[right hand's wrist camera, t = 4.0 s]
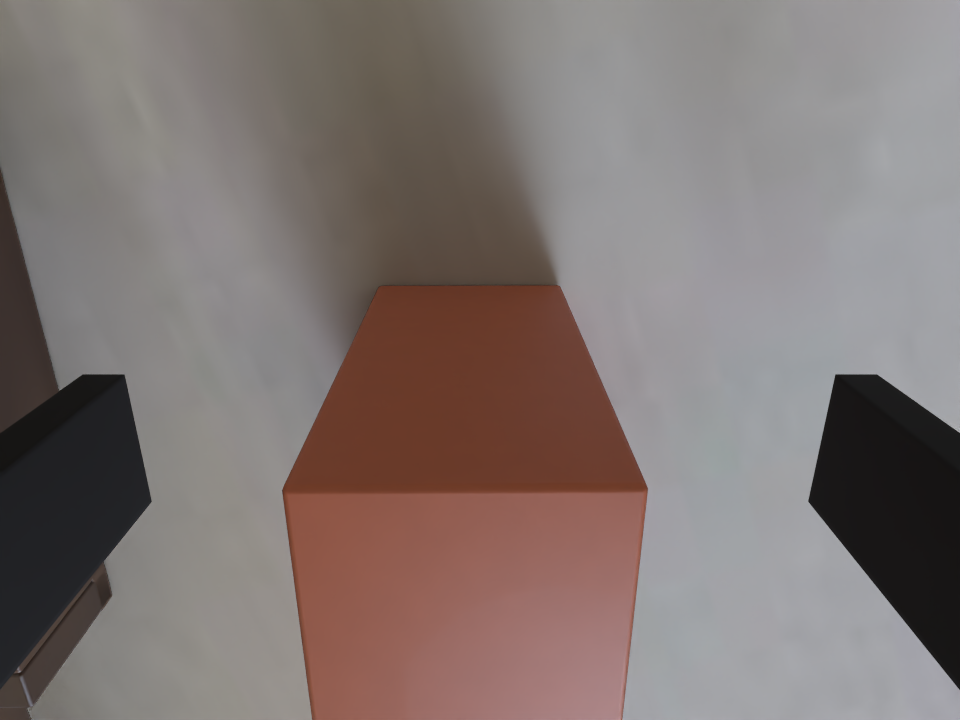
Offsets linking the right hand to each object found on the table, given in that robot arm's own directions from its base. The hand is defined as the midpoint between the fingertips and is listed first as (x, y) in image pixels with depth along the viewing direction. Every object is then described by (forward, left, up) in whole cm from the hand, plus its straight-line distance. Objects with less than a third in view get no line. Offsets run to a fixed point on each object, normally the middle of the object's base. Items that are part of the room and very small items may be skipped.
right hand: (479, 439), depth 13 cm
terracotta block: (0, 0, -3) cm, 3 cm away
